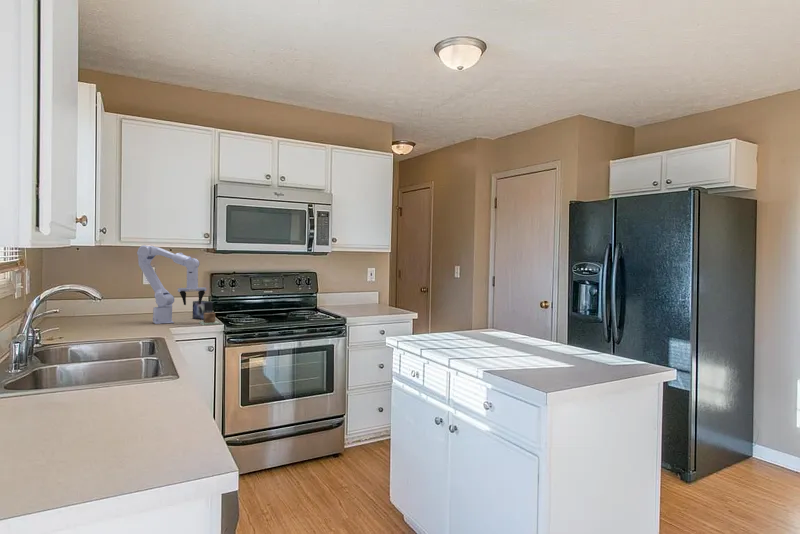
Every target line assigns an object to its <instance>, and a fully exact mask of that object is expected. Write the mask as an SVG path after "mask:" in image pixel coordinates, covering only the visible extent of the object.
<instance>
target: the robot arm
mask: <svg viewBox="0 0 800 534" xmlns="http://www.w3.org/2000/svg"><path fill="white" fill-rule="evenodd" d="M136 255H137V259H138V260H137V261H138V264H137V265H138V267H139V268H140V270H141V271H142V274H144V277H145V278H146V280H147V281H148V283H149V285H150V287H151V288H152V290H153V292H154V300H155V303H156V306H154V307H153V309H152V323H153V324H156V325H157V324H174V321H173V303H175V297H174V295H173V294H171V292H169V290H167V289H166V288H165V286H164V285H163V283H162V281H161V280H160V278H159V276H158V275H157V272H156V271H155V270H154V268H153V266H152V265H151V264H152V261H153V260H154V258H155V257H156V256H162V257H165V258H167V259H171V260H172V261H173V263H175V264H177V265H180V266H182V267H185V269H186V287H180V288H179V287H178V288H177V292H178V293H179V294H180V297H181V298H182V302H183V305H184V306H186V305H187V301H186V299H187V292H198V301H199V302H198V303H199V304H201V301H203V300H202V299H203V297H204V295H205V293H206V292H207V287H199V266H200V265H201V264H200V260H198V259H197V258H196V257H192V256H189V255H185V254H184V253H183V252H176V253H173V252H171V251H169V250H167V249H164V248H162V247H159V246H154V245H145V244H143V245H141V246H139V247H138V249H137V252H136Z"/></svg>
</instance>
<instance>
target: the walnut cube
mask: <svg viewBox="0 0 800 534" xmlns="http://www.w3.org/2000/svg"><path fill="white" fill-rule="evenodd" d="M202 321H203V322H205V323H214V322H215V321H216V313H215V312H212V313H204V319H203V320H202Z"/></svg>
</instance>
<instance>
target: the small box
mask: <svg viewBox="0 0 800 534" xmlns="http://www.w3.org/2000/svg"><path fill="white" fill-rule="evenodd" d="M198 302H199V300H193V301H192V319H193V320H194V319H195V320H202V321H203V319H204V313H213V307H214V306H213V303H214V302H213V301H210V300H208V301H207V300H201V304H199V303H198Z"/></svg>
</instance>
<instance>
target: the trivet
mask: <svg viewBox="0 0 800 534" xmlns="http://www.w3.org/2000/svg"><path fill="white" fill-rule="evenodd" d="M198 323H199V324H200V325H202V326H210V325H211V326H212V325H220V324H221V323H220V322H219V321H217V320H215V322H214V323H205V322H203V320H202V321H198Z"/></svg>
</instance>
